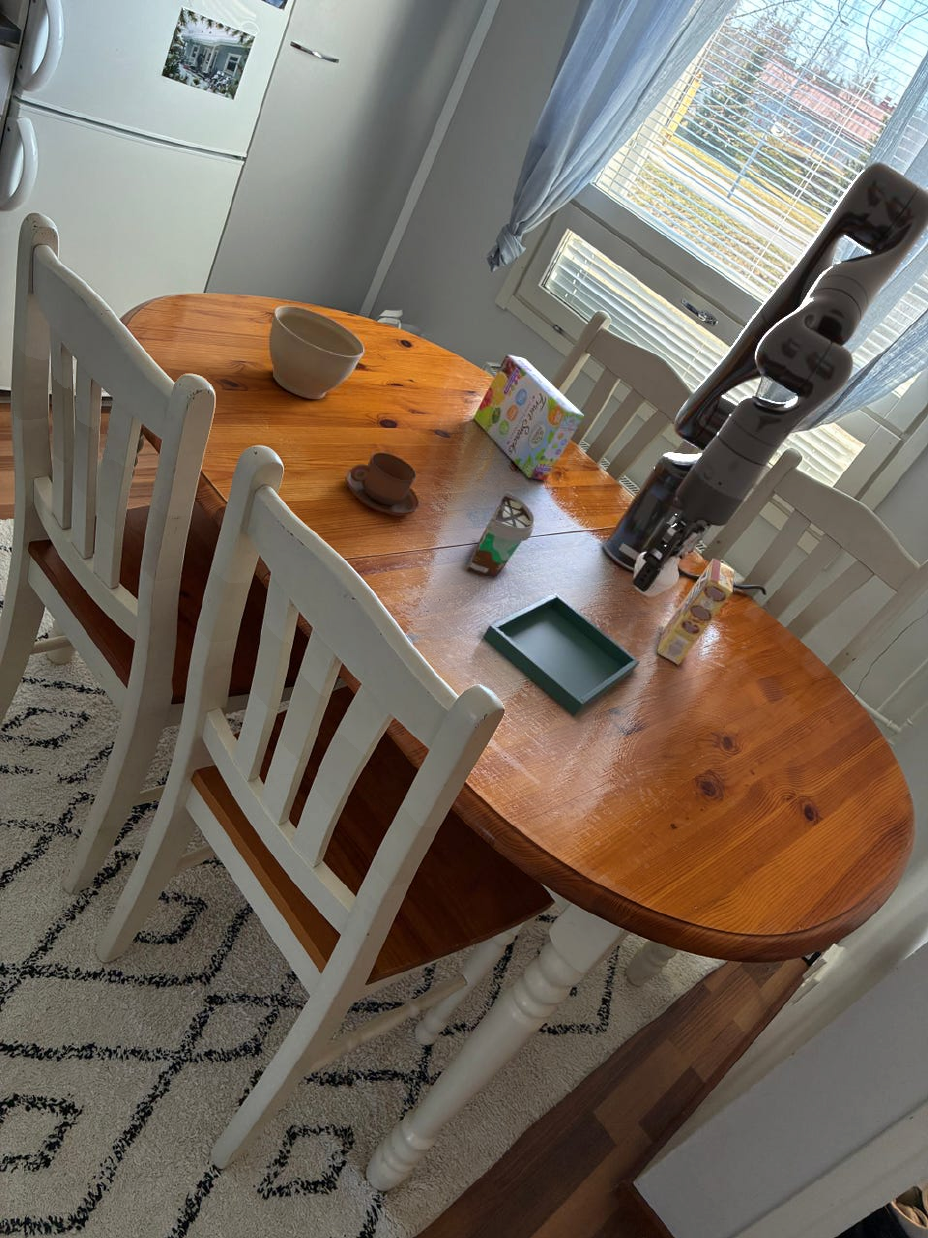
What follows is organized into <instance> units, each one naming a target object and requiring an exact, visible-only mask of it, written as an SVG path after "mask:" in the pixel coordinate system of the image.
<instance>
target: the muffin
mask: <svg viewBox="0 0 928 1238" xmlns="http://www.w3.org/2000/svg"><path fill="white" fill-rule="evenodd" d="M645 553H646V552H644V553H641V554H640V555H639V556H638V558H637V561H636V565H635V569H634V572H633V579H634V578H635V577H636V575H637V574H638V572H639V571H640V569H641V568H642V567H643V565H644V564H645V562H646V561H645V560H643V559H642V558H643V555H644V554H645ZM655 556H656V557H658V558H659V559H661V557H662V554H661V553H660V552H659V551H658V552H657V554H656V555H655ZM679 559H680V558H679V557H678V558H677V559H671V560H670V562H669V563H668V564H667V565H666V566H665V569H664V570H662V571H661V572H660V574H659V575H658V577H657V578H656V579H655V581H654V582H653V584H652V585H651V586H650V588H649V589H648V590H647V591H645V592H642V591H641V590H640V589H638V588H637V587H636V586H635V585H634V584H633V583H632V584H633V587H634V588H635V590H636V591H638V592H639V593H640V594H642V595H644V596H646V597H649V598H653V597H655V596H657V595H659V594H661V593H664V592H666V591H668V590H669V589H671V588H672V587H674V586H675V585H676V584H678V583H679V579H680V573H679V572H678V566H679V564H680V562H679ZM677 565H678V566H677Z"/></svg>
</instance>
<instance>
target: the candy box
mask: <svg viewBox="0 0 928 1238" xmlns="http://www.w3.org/2000/svg"><path fill="white" fill-rule="evenodd" d="M699 576H700V578H699V579H696V580H697V581H696V582H695V583H694V585H693V586H692V587H691V588H690V590H689V591H688V593H687V594H686V596H685V597H684V598H683V600H682V602H681V603H680V604H679V606H678V607H677V609H676V610H675V611H674V613H673V615H672V616H671V617H670V619H669V620H668V621H667V623H666V625H665V626H664V627H663V629H662V631H661V636H660V640H659V644H658V649H657V654H658V655H660V656H662V657H663V658H665V659H666V660H669V661H671V662H672V663H674V664H676V665H677V666H678V665H680V664H681V663H682V661H683V660H684V659H685V657H686V656H687V654H689V652H690V650H692V648H693V646H694V645H695V644H696V642H697V641H698V640H699V638H700V637H701V636H702V635H703V633H704V631H706V629H707V628H708V627H709V625H710V624H711V622H712V621H713V620H714V618H715V617H716V616H717V614H718V613H719V611H720V610H721V609H722V608H723V606H724V605H725V603H726V602H727V601H728V600H729V598H730V597H731V596H732V594H733V592H734V588H733V584H735V570H734V569H733V568H731V567H730V566H728V565H727V564H725V563H723V562H721V561H720V560H718V559H716V558H712V559H711V561H710V562H709V564H708V565H707V566H706V568H705V569H704V571H703V572H702V574H701V575H699Z"/></svg>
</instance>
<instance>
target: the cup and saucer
mask: <svg viewBox="0 0 928 1238" xmlns="http://www.w3.org/2000/svg"><path fill="white" fill-rule="evenodd" d="M416 477H417V473H416V471H415V470H414V468H413V467H412V466H411V465H410V464H409V463H408V462H406V461H405V460H404V459H402V458H400V457H398V456H396V455H393V454H391V453H387V452H375V453H373V454H372V456H371V458H370V460H369V461H368V464H364V463H362V464H361V463H359V464H356V465H355V466H354V467H351V468H350V469H349V470H348V471H347V473H346V485H347V486H348V488H349V490H350V492H351V493H352V494H353V496H355V498H357V499H358V500H359V501H360V502H361V503H363V504H364V505H366V506H367V507H369V508H371V509H373V510H375V511H377V512H379V513H382V514H385V515H390V516H397V517H398V516H401V517H402V516H407V515H410V514H413V513H415V511H416V510H417V509H418V508H419V504H420V502H419V497H418V496H417V494H416V493H415V491H414V490H413V489H412V485H413V483H414V481H415V479H416Z"/></svg>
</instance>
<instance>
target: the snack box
mask: <svg viewBox="0 0 928 1238" xmlns="http://www.w3.org/2000/svg"><path fill="white" fill-rule="evenodd" d="M584 418H585V415H584V414H583V412H582V411H580V410H579V408H577V407H576V406H575V404H573V403H572V402H571V401H570V400H569V399H567V397H566V396H565V395H563V393H561V391H559V390H558V389H557V388H556V387H555V386H554V385H553V384H552V383H551V382H550V381H549V380H548V379H547V378H546V377H544V376H543V374H541V372H540V371H538V370H537V369H536V368H535V367H534V366H533V365H532V363H530V362H529V361H528V360H527V359H526V358H524V357H520V356H516V355H513V354H505V357H504V359H503V361H502V362H501V364H500V366H499V368H498V370H497V371H496V374H495V376H494V378H493V379H492V381H491V382H490V384H489V387H488V389H487V390H486V392H485V395H484V396H483V398H482V400H481V402H480V404H479V406H478V408H477V409H476V412H475V413H474V415H473V420H474V421H475V422H476V424H478V425H479V426H480V427H481V428H482V430H483V431H485V433H486V434H487V435H488V436H489V437H490V438H491V439H492V440H493V441H494V442H495V443H496V444H497V446H498V447H499V448H500V449H501V450H502V451H503V452H504V453H505V454H506V455H507V456H508V458H509V459H510V460H511V461H512V462H513V463H514V464H515V465H516V466H517V467H518V468H519V469H520V471H521V472H522V473H523V474H524V475H525V476H526V477H527V478H528V479H534V480H539V481H547V479H548V478H549V476H550V474H551V473H552V471H553V469H554V468H555V466H556V465H557V462H558V461H559V459H560V457H561V456H562V454H563V453H564V451H565V449H566V448H567V446H568V444H569V443H570V441H571V439H572V438H573V436H574V434H575V433H576V431H577V429H578V428H579V426H580V424H581V423H582V421H583V419H584Z"/></svg>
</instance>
